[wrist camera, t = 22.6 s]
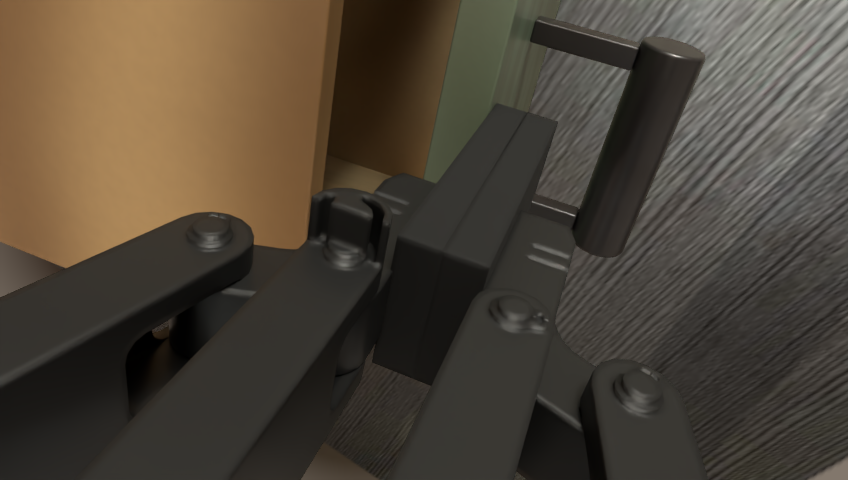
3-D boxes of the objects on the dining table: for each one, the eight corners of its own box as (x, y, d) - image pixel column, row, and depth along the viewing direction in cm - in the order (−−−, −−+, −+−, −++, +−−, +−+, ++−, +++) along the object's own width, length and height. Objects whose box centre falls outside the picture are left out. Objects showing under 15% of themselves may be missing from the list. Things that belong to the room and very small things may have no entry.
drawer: (757, -118, 18) (806, -102, 11) (598, 266, 26) (565, 426, 18) (121, -262, 22) (-155, -321, 15) (141, 110, 29) (-36, 193, 22)
